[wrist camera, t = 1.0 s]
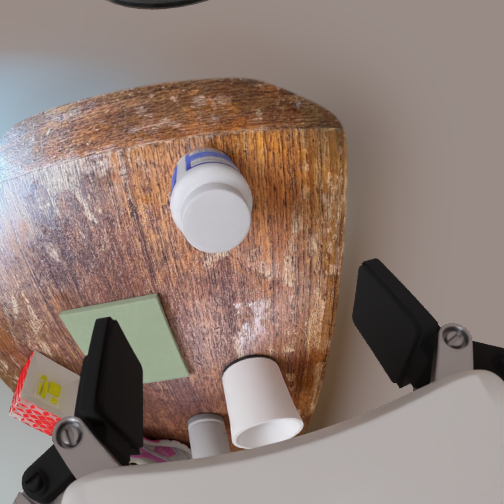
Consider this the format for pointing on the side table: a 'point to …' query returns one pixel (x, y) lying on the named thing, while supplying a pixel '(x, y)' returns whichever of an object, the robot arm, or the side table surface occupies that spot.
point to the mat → (134, 334)
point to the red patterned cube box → (44, 393)
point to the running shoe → (161, 452)
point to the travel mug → (207, 435)
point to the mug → (259, 403)
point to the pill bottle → (210, 200)
